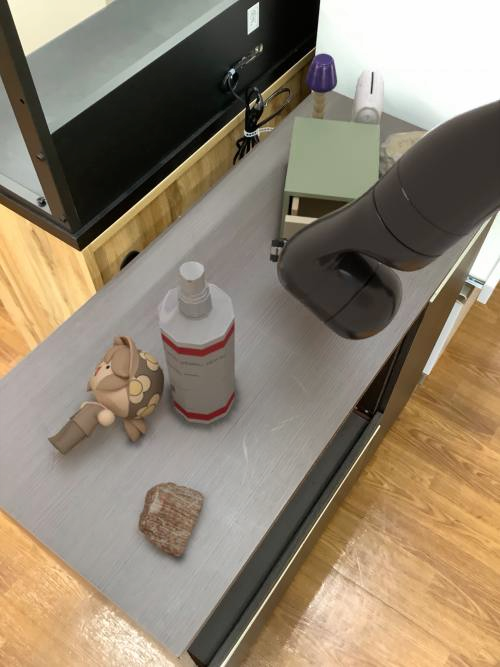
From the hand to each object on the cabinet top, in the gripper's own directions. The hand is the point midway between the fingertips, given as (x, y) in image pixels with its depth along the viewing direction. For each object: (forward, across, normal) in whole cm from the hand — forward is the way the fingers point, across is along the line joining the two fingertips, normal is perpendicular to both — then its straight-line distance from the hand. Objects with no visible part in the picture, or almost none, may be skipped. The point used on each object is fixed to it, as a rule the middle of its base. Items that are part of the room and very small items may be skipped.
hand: (323, 250), depth 84 cm
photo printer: (+24, -4, -16) cm, 29 cm away
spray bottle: (-11, +13, +19) cm, 25 cm away
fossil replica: (+19, -13, -11) cm, 25 cm away
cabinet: (+14, 0, -6) cm, 15 cm away
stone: (-22, +14, +30) cm, 40 cm away
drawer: (+8, 0, -1) cm, 8 cm away
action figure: (-14, +23, +22) cm, 35 cm away
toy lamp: (+22, +3, -14) cm, 27 cm away
